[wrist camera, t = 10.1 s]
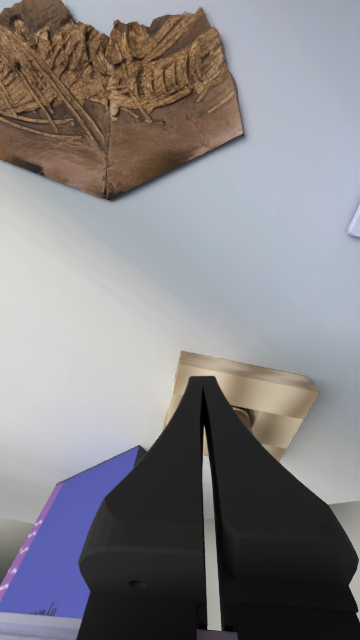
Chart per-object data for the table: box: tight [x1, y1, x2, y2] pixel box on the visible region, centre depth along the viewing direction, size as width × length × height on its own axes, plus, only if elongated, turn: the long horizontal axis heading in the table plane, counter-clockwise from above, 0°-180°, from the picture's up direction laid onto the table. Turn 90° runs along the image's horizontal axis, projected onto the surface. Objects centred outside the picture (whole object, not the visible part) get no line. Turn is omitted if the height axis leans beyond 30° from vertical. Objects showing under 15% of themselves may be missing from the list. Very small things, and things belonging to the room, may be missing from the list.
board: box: [163, 351, 319, 462], centre depth 23 cm, size 14×12×2 cm
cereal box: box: [0, 445, 147, 619], centre depth 20 cm, size 17×5×24 cm, turn 126°
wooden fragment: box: [0, 0, 245, 200], centre depth 15 cm, size 26×11×1 cm, turn 85°
